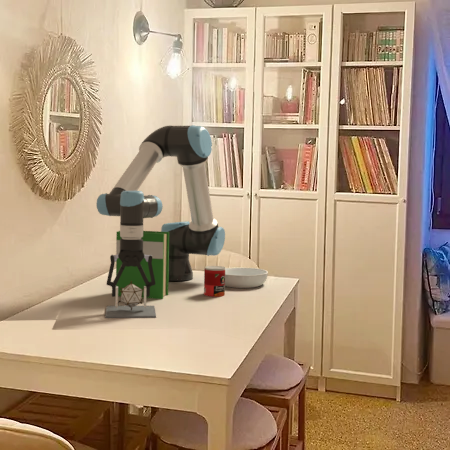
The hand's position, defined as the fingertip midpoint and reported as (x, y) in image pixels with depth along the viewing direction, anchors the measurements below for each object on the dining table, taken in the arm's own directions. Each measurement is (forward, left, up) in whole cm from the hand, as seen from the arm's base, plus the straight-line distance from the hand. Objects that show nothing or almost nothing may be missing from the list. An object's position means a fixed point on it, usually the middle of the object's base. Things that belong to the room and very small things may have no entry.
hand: (130, 306), depth 234 cm
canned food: (-27, +31, -2) cm, 41 cm away
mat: (0, 0, -2) cm, 2 cm away
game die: (0, 0, -2) cm, 2 cm away
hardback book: (-27, +4, -2) cm, 27 cm away
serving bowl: (-45, +44, -2) cm, 63 cm away
